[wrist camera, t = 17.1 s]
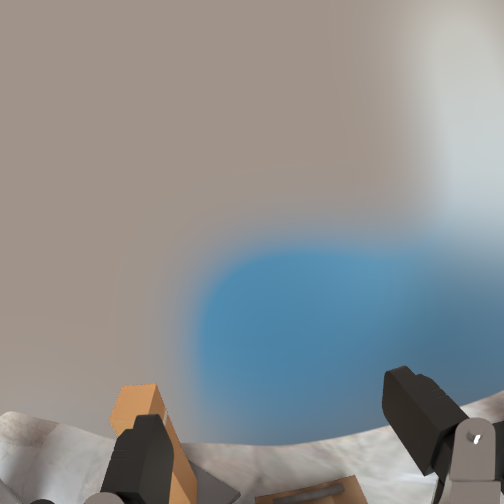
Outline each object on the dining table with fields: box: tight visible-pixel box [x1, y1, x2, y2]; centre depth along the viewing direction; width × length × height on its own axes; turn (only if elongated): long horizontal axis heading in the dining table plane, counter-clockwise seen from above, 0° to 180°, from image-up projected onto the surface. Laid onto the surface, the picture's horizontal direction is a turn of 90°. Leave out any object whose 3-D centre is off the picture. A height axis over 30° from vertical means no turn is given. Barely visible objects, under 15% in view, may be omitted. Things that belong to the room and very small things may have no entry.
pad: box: [188, 460, 241, 504], centre depth 32 cm, size 11×11×1 cm
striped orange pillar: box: [109, 384, 197, 504], centre depth 30 cm, size 4×6×18 cm
